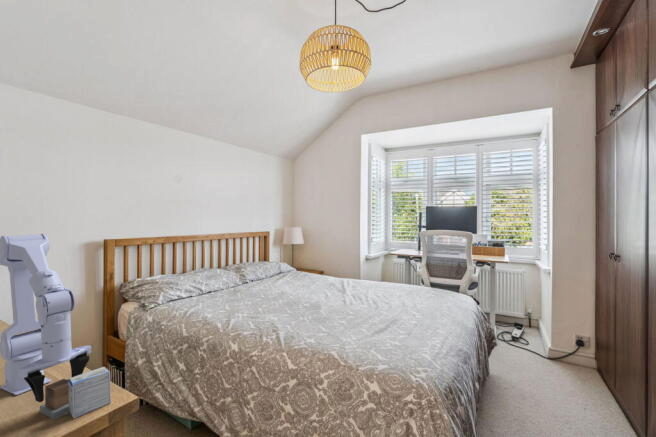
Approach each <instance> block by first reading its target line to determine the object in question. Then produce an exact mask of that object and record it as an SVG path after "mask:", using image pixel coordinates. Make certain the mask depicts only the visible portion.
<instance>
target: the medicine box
mask: <svg viewBox="0 0 656 437" xmlns="http://www.w3.org/2000/svg"><path fill="white" fill-rule="evenodd" d="M67 380H68V392H69V411H70V412H69V413H70V414H71V416H72V418H73V419H77V418H79V417H81V416H84V415H85V414H88V413H91V412H93V411H95V410H98V409H99V408H102V407H104V406H105V407H106V406H107V405H110V404H111V403H112V396H111V394H112V393H111V391H112V390H111V371H109V369H108V368H107V367H105V366H102V367H99V368H95V369H92V370H90V371H87V372H83V373H82V374H80V375H78V376H75V377H72V376H71V377H69V378H68V379H67Z"/></svg>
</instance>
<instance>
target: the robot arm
mask: <svg viewBox="0 0 656 437" xmlns="http://www.w3.org/2000/svg"><path fill="white" fill-rule="evenodd" d="M49 250H50V239H49V237H48V236H47V234H45V233H38V234H21V235H1V236H0V266H3V267H7V269H8V274H9V282H10V294H11V305H12V321H13V323H12V324H11V325H9V326H8V327H6V329H4V330H3V331H2V332H1V334H0V356H1V358H2V359H3V360H5V363H4V385H2V386H1V385H0V389H2V390H4V391H5V392H8V393H10V394H12V395H15V396H18V395H20V394H23V393H25V392H28V391H30V390H31V391H32V393H33V395H34V396H33V397H34V399H35V401H36V402H38V403H42V402H45V401H44V400H45V390H44V387H45V386H44V385H45V384H48V383H50V382H51V380H52V379H51V378H48V377H46V375H45V373H44V372H45V371H44V370H47V369H49V368H51V367H56V365H59V364H64V363H67V362H69V364H70V369H71V371H70V372H71V378H72V377H75V376H78V375H80V374H83V373H84V371H85V368H86V367H87V365H88V362H90V356H89V355H90V354H91V353H92V346H91V345H88V344H86V345H83V346H78V347H75V348H73V347H72V324H71V323H72V320H71V319H72V318H71V317H72V316H71V312H72V311H73V310H74V309H75V304H76V303H75V296H74V293H73V291H72V290H71V289H70V288H68V287H67V286H64V284H63V283H62V281H61V279H60V276H59V274H58V273H57V271H55V270H52V269H50V267H49V263H48V260H47V257H46V256H47V255H48V252H49ZM36 314H37V319H36Z"/></svg>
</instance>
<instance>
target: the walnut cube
mask: <svg viewBox="0 0 656 437" xmlns="http://www.w3.org/2000/svg"><path fill="white" fill-rule="evenodd" d="M44 400H45V401H44V402H45V403H44V404H45V406H46V407H49V408H51V409H53V410H56V409H58V408H60V407H62V406H64V405H66V404H68V403H69V392H68V379H66V378H62V379H60V380H57V381H54V382H53V383H49V384H47V385H45V386H44Z"/></svg>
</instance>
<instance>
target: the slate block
mask: <svg viewBox="0 0 656 437" xmlns="http://www.w3.org/2000/svg"><path fill="white" fill-rule="evenodd" d="M39 412H40V413H41V414H43V415H45V416H46V417H48V418H50V419H52V420H57V419H58V418H60V417H62V416H64V415H66V414H68V413H70V411H69V403H68V404H66V405H64V406H62V407H60V408H58V409H56V410H53V409H51V408H49V407H46V406H45V403H43V404H41V405H39Z"/></svg>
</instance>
